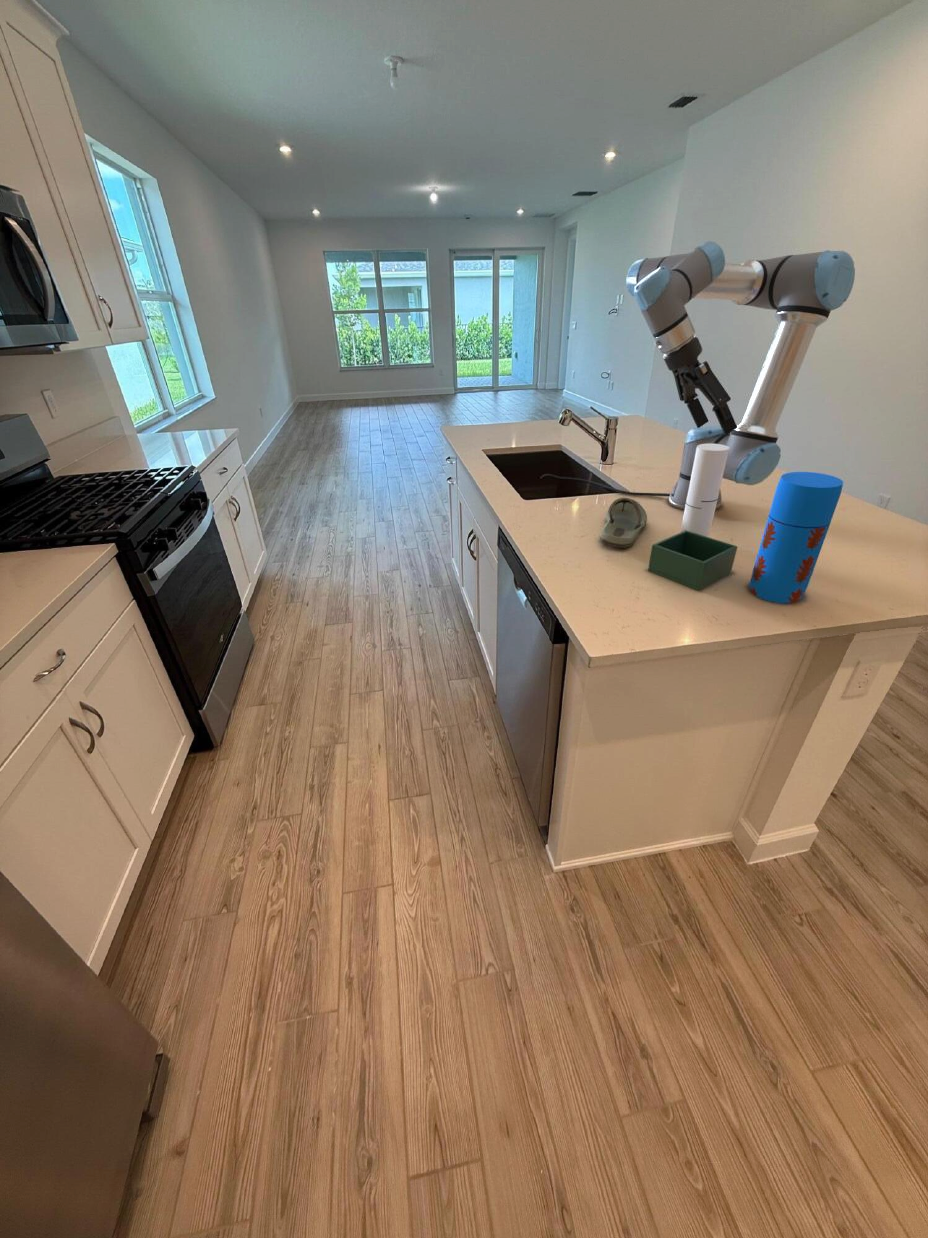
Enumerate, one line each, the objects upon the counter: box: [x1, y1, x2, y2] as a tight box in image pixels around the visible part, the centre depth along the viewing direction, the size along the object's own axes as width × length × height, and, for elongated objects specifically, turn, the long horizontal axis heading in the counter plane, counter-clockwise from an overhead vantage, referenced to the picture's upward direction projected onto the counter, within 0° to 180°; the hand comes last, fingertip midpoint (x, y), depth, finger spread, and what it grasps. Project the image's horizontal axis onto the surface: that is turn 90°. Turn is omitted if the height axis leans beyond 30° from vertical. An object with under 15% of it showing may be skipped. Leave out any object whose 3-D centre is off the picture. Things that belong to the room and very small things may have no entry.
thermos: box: [748, 471, 844, 604], centre depth 105 cm, size 11×11×25 cm
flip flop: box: [599, 497, 648, 549], centre depth 142 cm, size 29×12×8 cm, turn 155°
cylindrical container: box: [679, 444, 729, 538], centre depth 129 cm, size 7×7×25 cm
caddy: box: [647, 530, 739, 591], centre depth 120 cm, size 13×13×7 cm
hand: (716, 427), depth 119 cm, fingers open, 13 cm apart
